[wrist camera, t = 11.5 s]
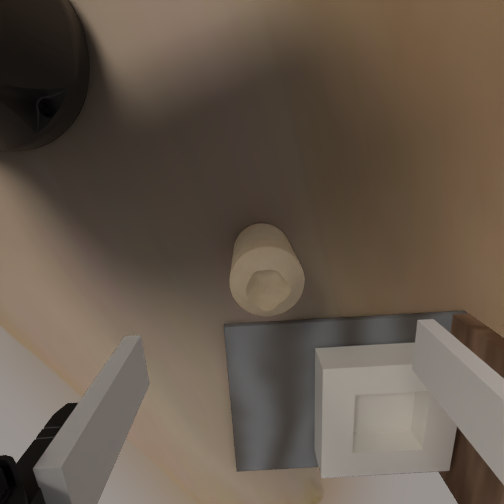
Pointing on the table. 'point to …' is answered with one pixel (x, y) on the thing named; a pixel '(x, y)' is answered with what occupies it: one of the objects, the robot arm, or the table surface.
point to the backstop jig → (303, 389)
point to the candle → (265, 271)
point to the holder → (377, 414)
